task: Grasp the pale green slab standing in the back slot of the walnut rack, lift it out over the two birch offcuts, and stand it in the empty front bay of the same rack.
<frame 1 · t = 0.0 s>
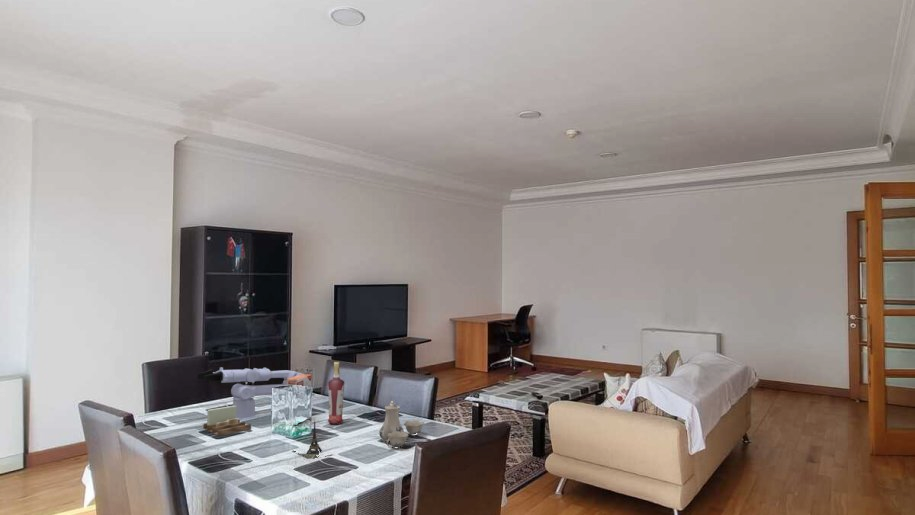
hand: (200, 377, 238), 22 cm above the table, tool horizontal, fingers open, 7 cm apart
pale green slab: (221, 426, 235), point 1 cm above the table, touching rack
eiffel tower figurine: (312, 454, 203), on the table
offcut 2: (222, 429, 230), point 1 cm above the table, touching rack
rack: (226, 429, 232), on the table
offcut 1: (232, 426, 235), point 1 cm above the table, touching rack
chinaware: (398, 441, 221), on the table
cracker box: (297, 422, 246), on the table
liquor: (335, 423, 245), on the table
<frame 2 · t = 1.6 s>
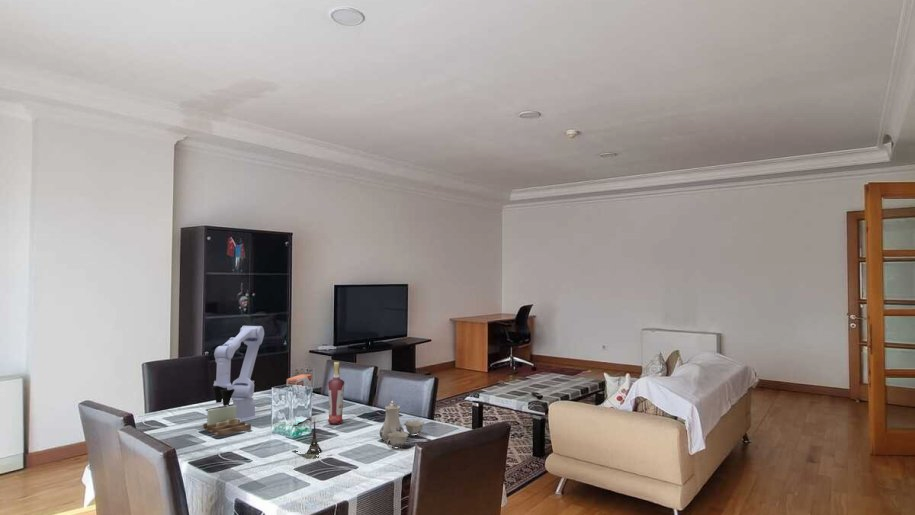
hand: (222, 403, 236), 10 cm above the table, tool pointing down, fingers open, 7 cm apart
nothing on the table moved.
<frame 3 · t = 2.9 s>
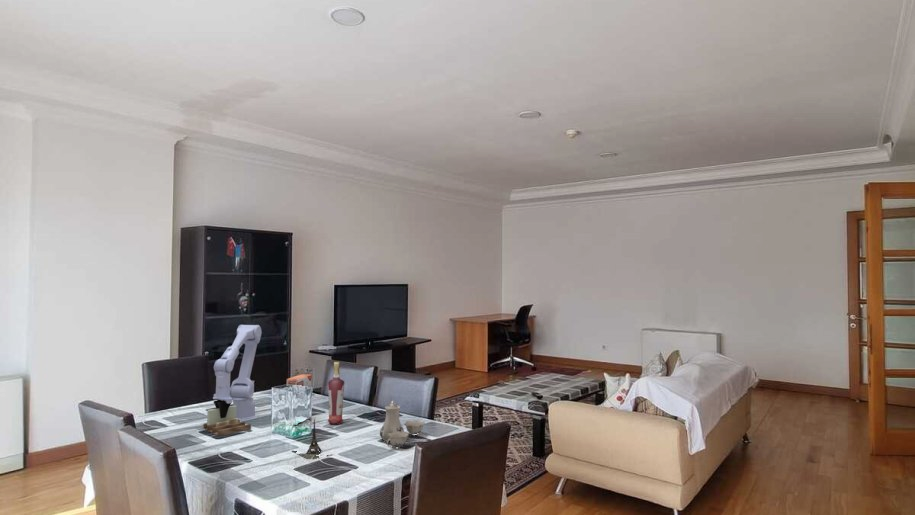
hand: (222, 417, 235), 5 cm above the table, tool pointing down, fingers closed on pale green slab, 2 cm apart
pale green slab: (221, 426, 235), point 1 cm above the table, touching gripper, rack
everything else where it was.
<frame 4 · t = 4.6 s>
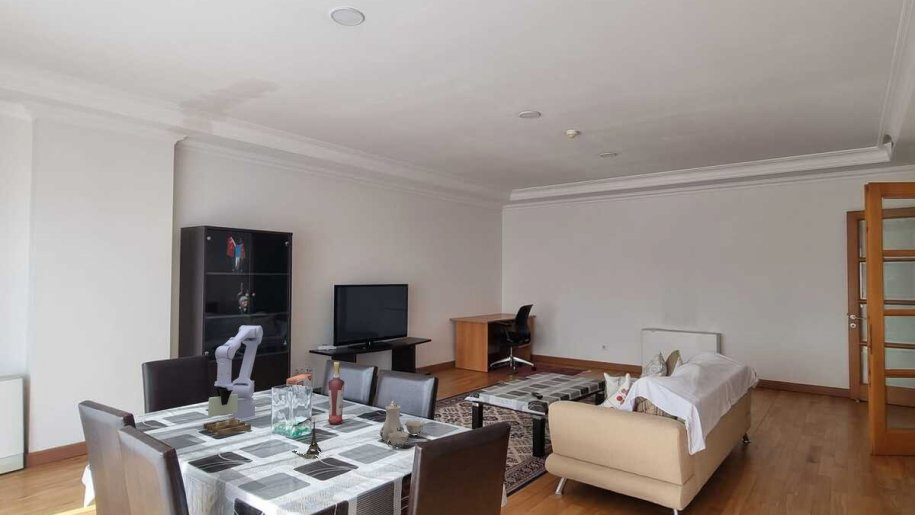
hand: (223, 404, 235), 10 cm above the table, tool pointing down, fingers closed on pale green slab
pale green slab: (222, 414, 235), point 6 cm above the table, touching gripper
everything else where it was.
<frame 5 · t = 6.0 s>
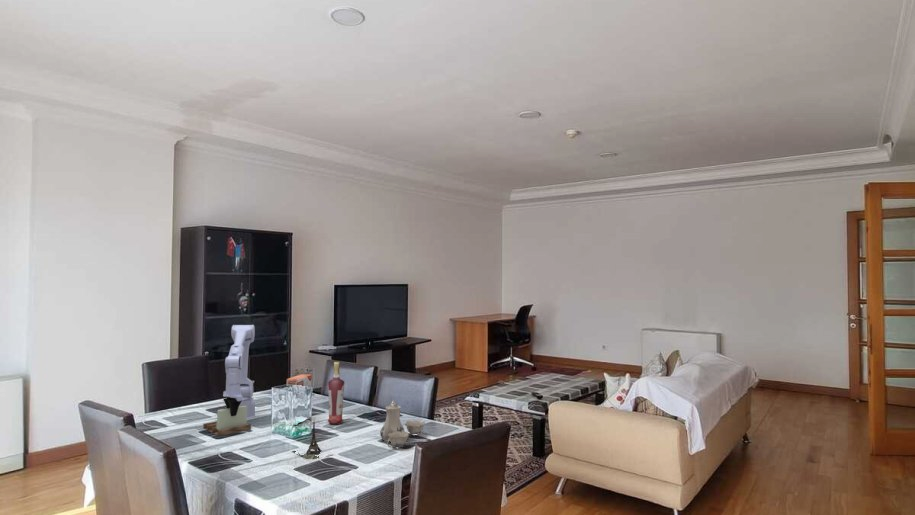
hand: (232, 415, 229), 7 cm above the table, tool pointing down, fingers closed on pale green slab, 2 cm apart
pale green slab: (231, 426, 228), point 2 cm above the table, touching gripper
everything else where it was.
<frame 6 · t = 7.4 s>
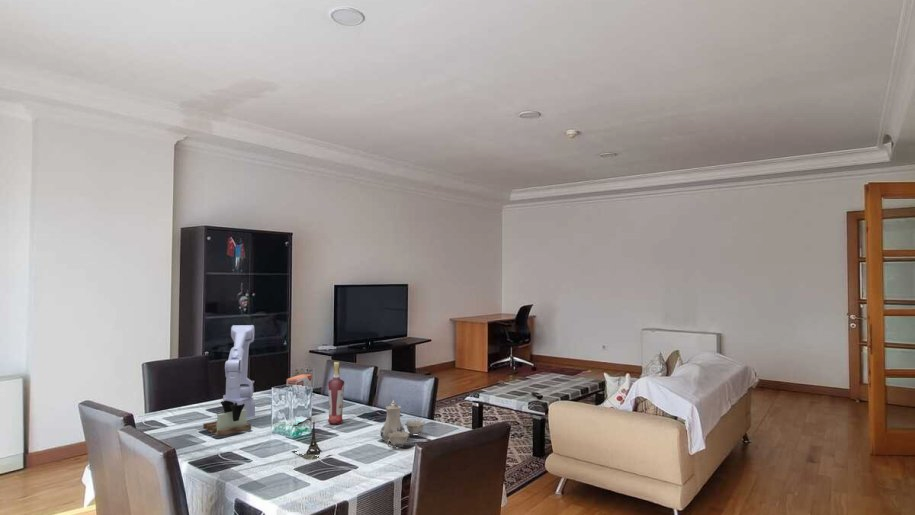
hand: (232, 419, 229), 6 cm above the table, tool pointing down, fingers open, 7 cm apart
pale green slab: (231, 430, 228), point 1 cm above the table, touching rack
everything else where it was.
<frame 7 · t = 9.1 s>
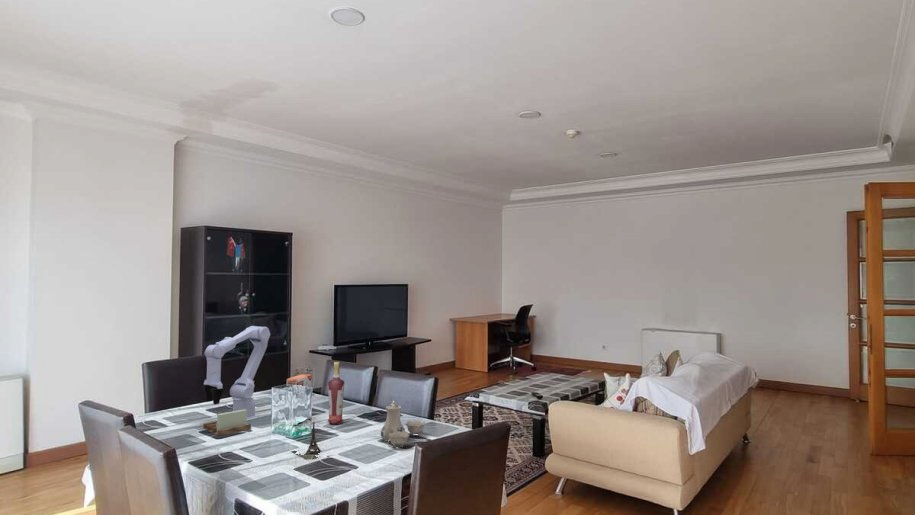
hand: (212, 402, 238), 10 cm above the table, tool pointing down, fingers open, 7 cm apart
nothing on the table moved.
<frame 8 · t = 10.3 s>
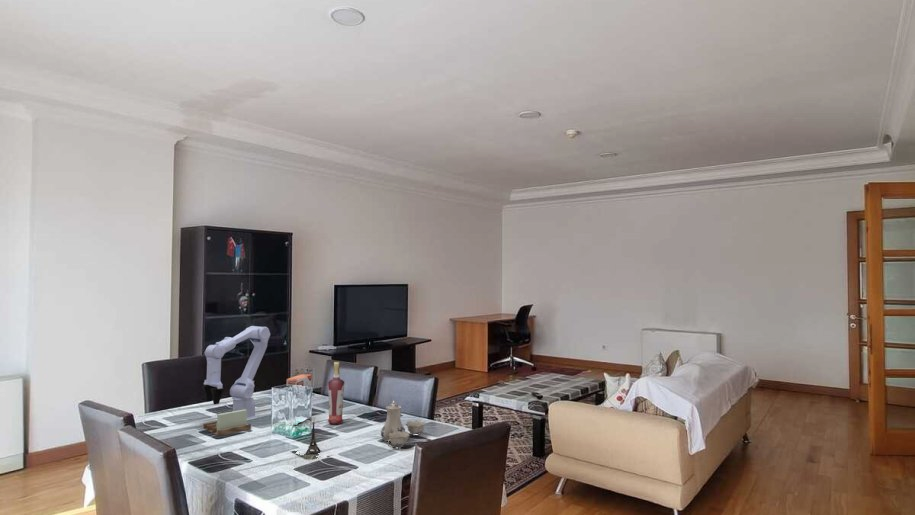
hand: (212, 402, 238), 10 cm above the table, tool pointing down, fingers open, 7 cm apart
nothing on the table moved.
at the end: pale green slab 0.1 cm from the target spot on the rack, point 0.6 cm above the rack's base; pale green slab tilted 0°; offcut 1 moved 0.0 cm from its start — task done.
